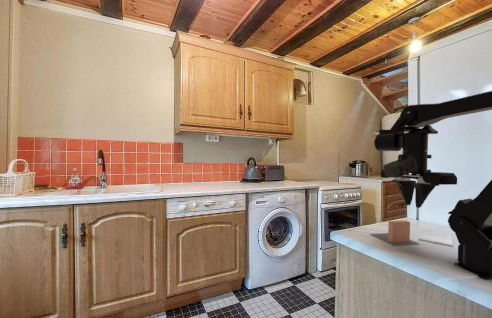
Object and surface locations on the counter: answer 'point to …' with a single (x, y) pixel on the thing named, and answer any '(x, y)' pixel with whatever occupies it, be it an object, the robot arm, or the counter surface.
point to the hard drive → (436, 238)
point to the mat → (385, 238)
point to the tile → (399, 231)
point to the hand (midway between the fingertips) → (413, 206)
